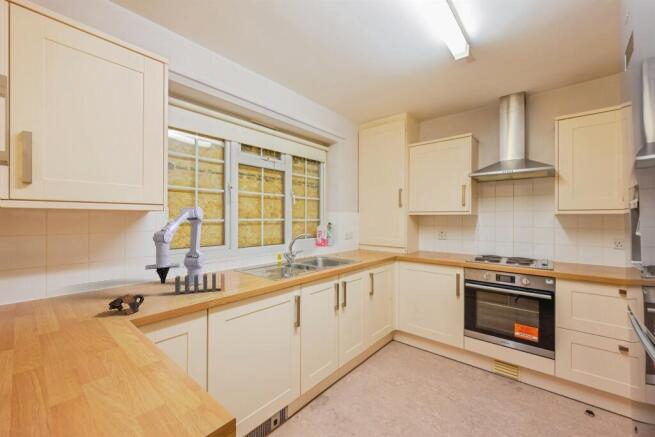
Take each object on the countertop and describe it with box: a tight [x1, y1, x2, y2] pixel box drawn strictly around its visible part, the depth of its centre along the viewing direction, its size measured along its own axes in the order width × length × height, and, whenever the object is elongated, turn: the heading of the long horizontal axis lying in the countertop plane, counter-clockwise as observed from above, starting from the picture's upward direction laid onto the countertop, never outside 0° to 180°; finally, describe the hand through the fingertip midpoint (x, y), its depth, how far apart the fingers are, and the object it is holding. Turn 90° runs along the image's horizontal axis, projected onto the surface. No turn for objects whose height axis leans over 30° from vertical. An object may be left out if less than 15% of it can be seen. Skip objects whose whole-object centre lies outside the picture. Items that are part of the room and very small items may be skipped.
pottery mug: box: [108, 293, 145, 316], centre depth 114 cm, size 12×10×8 cm
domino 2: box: [184, 274, 191, 295], centre depth 141 cm, size 5×2×8 cm, turn 21°
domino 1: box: [174, 275, 181, 296], centre depth 140 cm, size 5×2×8 cm, turn 21°
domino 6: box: [220, 272, 226, 292], centre depth 147 cm, size 5×2×8 cm, turn 21°
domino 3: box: [193, 274, 200, 294], centre depth 143 cm, size 5×2×8 cm, turn 21°
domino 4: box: [202, 273, 208, 294], centre depth 144 cm, size 5×2×8 cm, turn 21°
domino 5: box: [211, 272, 217, 293], centre depth 146 cm, size 5×2×8 cm, turn 21°
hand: (163, 283), depth 137 cm, fingers closed
